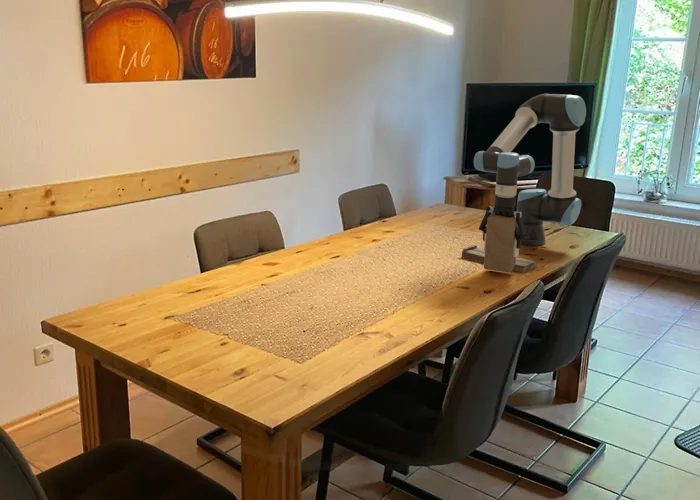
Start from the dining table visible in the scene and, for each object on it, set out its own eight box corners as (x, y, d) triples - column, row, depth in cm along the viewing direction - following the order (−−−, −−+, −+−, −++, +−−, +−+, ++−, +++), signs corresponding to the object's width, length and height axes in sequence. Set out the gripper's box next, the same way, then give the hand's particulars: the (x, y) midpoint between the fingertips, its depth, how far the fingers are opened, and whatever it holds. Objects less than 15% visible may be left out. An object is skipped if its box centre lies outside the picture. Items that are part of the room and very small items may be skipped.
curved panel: (474, 252, 286) (474, 244, 285) (535, 267, 267) (535, 259, 266) (461, 257, 279) (462, 248, 278) (523, 272, 261) (524, 263, 260)
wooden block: (510, 273, 252) (514, 220, 246) (483, 269, 256) (487, 217, 250) (515, 265, 261) (520, 214, 255) (489, 262, 265) (493, 211, 259)
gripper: (471, 192, 256) (468, 248, 262) (529, 202, 240) (524, 261, 246) (482, 189, 261) (479, 244, 267) (540, 199, 245) (534, 257, 252)
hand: (500, 252), depth 257 cm, fingers closed on wooden block, 12 cm apart
